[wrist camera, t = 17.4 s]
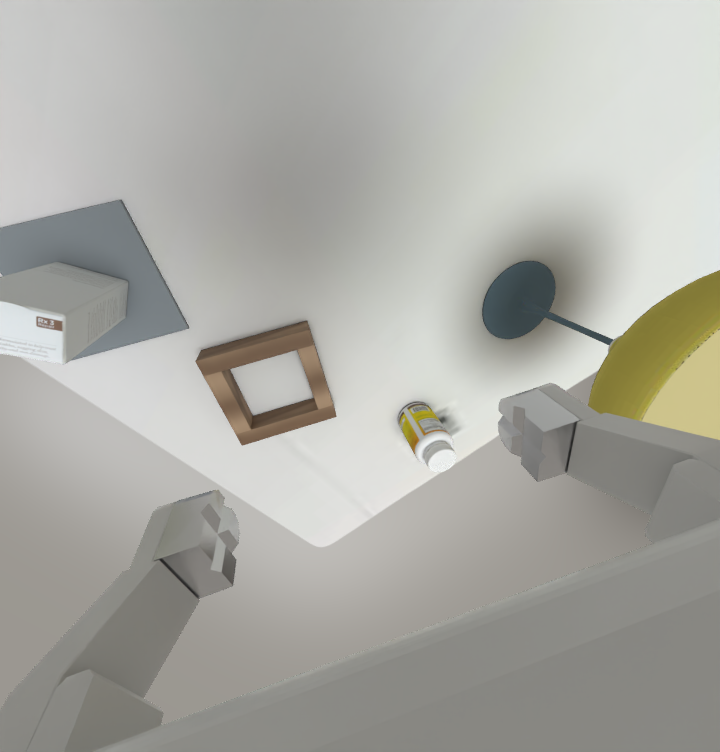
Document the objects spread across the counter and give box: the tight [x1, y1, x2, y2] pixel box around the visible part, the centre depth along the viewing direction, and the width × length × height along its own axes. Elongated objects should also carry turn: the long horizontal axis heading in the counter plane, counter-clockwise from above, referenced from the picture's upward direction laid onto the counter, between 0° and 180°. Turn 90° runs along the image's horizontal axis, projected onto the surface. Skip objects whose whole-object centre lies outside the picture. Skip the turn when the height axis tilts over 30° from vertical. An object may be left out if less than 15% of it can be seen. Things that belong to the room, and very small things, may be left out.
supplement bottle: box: [398, 402, 456, 472], centre depth 45 cm, size 6×6×10 cm
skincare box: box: [0, 262, 128, 364], centre depth 27 cm, size 6×4×12 cm
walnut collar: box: [196, 321, 337, 445], centre depth 40 cm, size 13×13×3 cm
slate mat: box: [0, 200, 189, 361], centre depth 32 cm, size 13×13×1 cm
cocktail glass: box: [483, 261, 720, 440], centre depth 33 cm, size 18×18×25 cm
